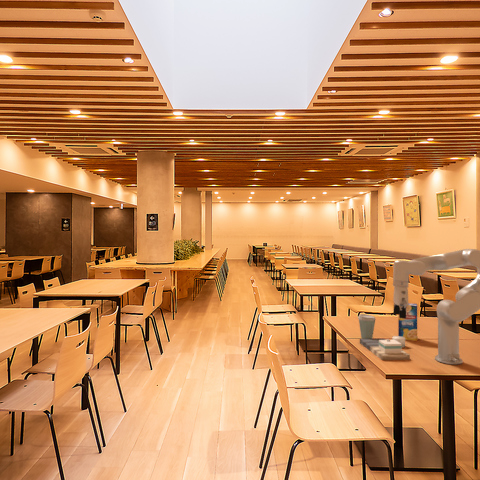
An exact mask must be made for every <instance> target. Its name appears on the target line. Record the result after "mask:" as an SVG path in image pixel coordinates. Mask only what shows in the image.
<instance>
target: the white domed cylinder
mask: <svg viewBox="0 0 480 480" xmlns="http://www.w3.org/2000/svg"><path fill="white" fill-rule="evenodd" d="M391 340H396V341H398V342H399V343H401V344H402V348H406V340H405V337H402V336H398V335H394V336H392V339H391Z"/></svg>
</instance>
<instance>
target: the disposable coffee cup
mask: <svg viewBox="0 0 480 480" xmlns="http://www.w3.org/2000/svg"><path fill="white" fill-rule="evenodd" d="M357 317H358V318H357V319H358V323H359V324H358V325H359V330H360V337H361V339H373V338H374V337H373V336H374V332H375V331H374V329H375V326H376V325H375V324H376V317H375V316H374V315H370V314H363V313H362V314H359V315H358V316H357Z"/></svg>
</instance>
